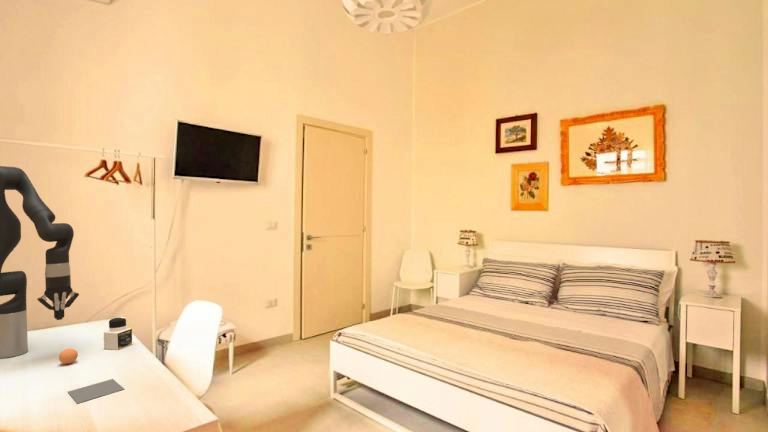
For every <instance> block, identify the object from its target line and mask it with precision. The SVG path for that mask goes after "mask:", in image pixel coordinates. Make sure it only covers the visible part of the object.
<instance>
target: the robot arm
mask: <svg viewBox="0 0 768 432" xmlns="http://www.w3.org/2000/svg"><path fill="white" fill-rule="evenodd" d="M6 191H17V192H18V193H19V194H20V195H21V196H22V210H23V212H24V214H25V215H26V216H27V217H28V219H29V220H30V221H31V222H32V223H33V226H34V227H35V230H36V233H37V235H38V237H39V238H40V239H41V240H43V242H48V243H53V242H56V243H55V245H54V246H53V247H51V248H48V249H46V251H45V268H44V271H45V272H44V276H45V278H44V279H45V290H44V291H43V295H41V297H38V298H37V299H36V300H37V301H38V303H40V304H42V305H43V307H45V308H47V310H50V311H51V310H52V311H53V318H54V319H55V320H56V321H61V320H63V318H64V317H65V309H66V308H69V307H71V306H72V305H73V303H74V302H75V300H77V298H78V297H79V296H80V293H78V292H76V291H73V288H72V285H71V284H72V283H71V281H72V280H71V265H70V254H69V252H70V249H71V246H72V243H73V239H74V235H75V233H74V228H73V227H72V226H71V224H69V223H65V222H57V223H54V222H55V221H56V215H55V213H54V212H53V211H52V210H51V209H50V208H49V207H48V205H46V203H45V202H44V201H43V199H42V198H41V197H40V195H39V194H38V192H37V190H36V188H35V186H34V184H33V182H32V181H31V180H30V178H29V176H28V175H27V173H26V172H25V171H24V170H23V169H22V168H20V167H16V166H2V165H0V297H4V296H5V297H6V296H11V295H13V297H12V298H10V299H9V300H7V301H5V302H2V303H0V359H7V358H12V357H13V358H14V357H17V356H21V355H24V354H26V353H27V352H28V350H29V348H28V343H29V342H28V340H29V339H28V313H27V312H28V311H27V310H28V309H27V289H28V287H27V286H28V278H27V274H26V273H25V271H22V270H15V271H5V272H2V270H3V269H2V268H3V266H4V263H5V262H6V260H7V258H8V257H9V256H10V254H11V253H12V252H13V251H15V248H16V247H17V246H18V245H19V243H20V241H21V239H22V224H21V223H22V222H21V220H20V219H19V217H18V216H17V214H16V213H15V212H14V211H13V209H12V208H11V207H10V206H9V204H8V202H7V199H6V198H7V197H6V193H5V192H6ZM69 296H70V298H69ZM67 299H68V300H67ZM47 300H49V301H51V302H52V305H51V304H50V303H49V302H47ZM66 300H67V301H66Z"/></svg>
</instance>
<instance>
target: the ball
mask: <svg viewBox="0 0 768 432" xmlns="http://www.w3.org/2000/svg"><path fill="white" fill-rule="evenodd" d="M78 356H79V354H78V351H77V350H76V349H74V348H66V349H64V350H63V351H61V352H60V353H59V356H58V360H59V362H60V363H61V364H64V365H70V364H72V363H74V362H75V361H77V359H78Z"/></svg>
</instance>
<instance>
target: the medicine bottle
mask: <svg viewBox="0 0 768 432" xmlns="http://www.w3.org/2000/svg"><path fill="white" fill-rule="evenodd" d="M132 345H133V327H127V318H126V317H123V316H120V317H113V318H111V319H109V320H108V330H106V331H104V332H103V349H104V350H111V351H112V350H113V351H114V350H115V351H119V350H122V349H124V348H127V347H128V346H132Z"/></svg>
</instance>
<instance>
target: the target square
mask: <svg viewBox="0 0 768 432" xmlns="http://www.w3.org/2000/svg"><path fill="white" fill-rule="evenodd" d="M124 390H125V388H124V387H123V386H122V385H120V383H118V382H117V381H116V380H115V379H114V378H112V379H111V378H110V379H108V380H104V381H101V382H97V383H94V384H93V383H92V384H90V385H86V386H82V387H79V388H76V389H72V390H69V391H67V393H68V394H69V396H70V397H71V398H72V399H73V400H74V401H75V404H77V405H79V404H81V403H85V402H88V401H92V400H94V399H98V398H101V397H104V396H108V395H111V394H114V393H117V392H120V391H124Z"/></svg>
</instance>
